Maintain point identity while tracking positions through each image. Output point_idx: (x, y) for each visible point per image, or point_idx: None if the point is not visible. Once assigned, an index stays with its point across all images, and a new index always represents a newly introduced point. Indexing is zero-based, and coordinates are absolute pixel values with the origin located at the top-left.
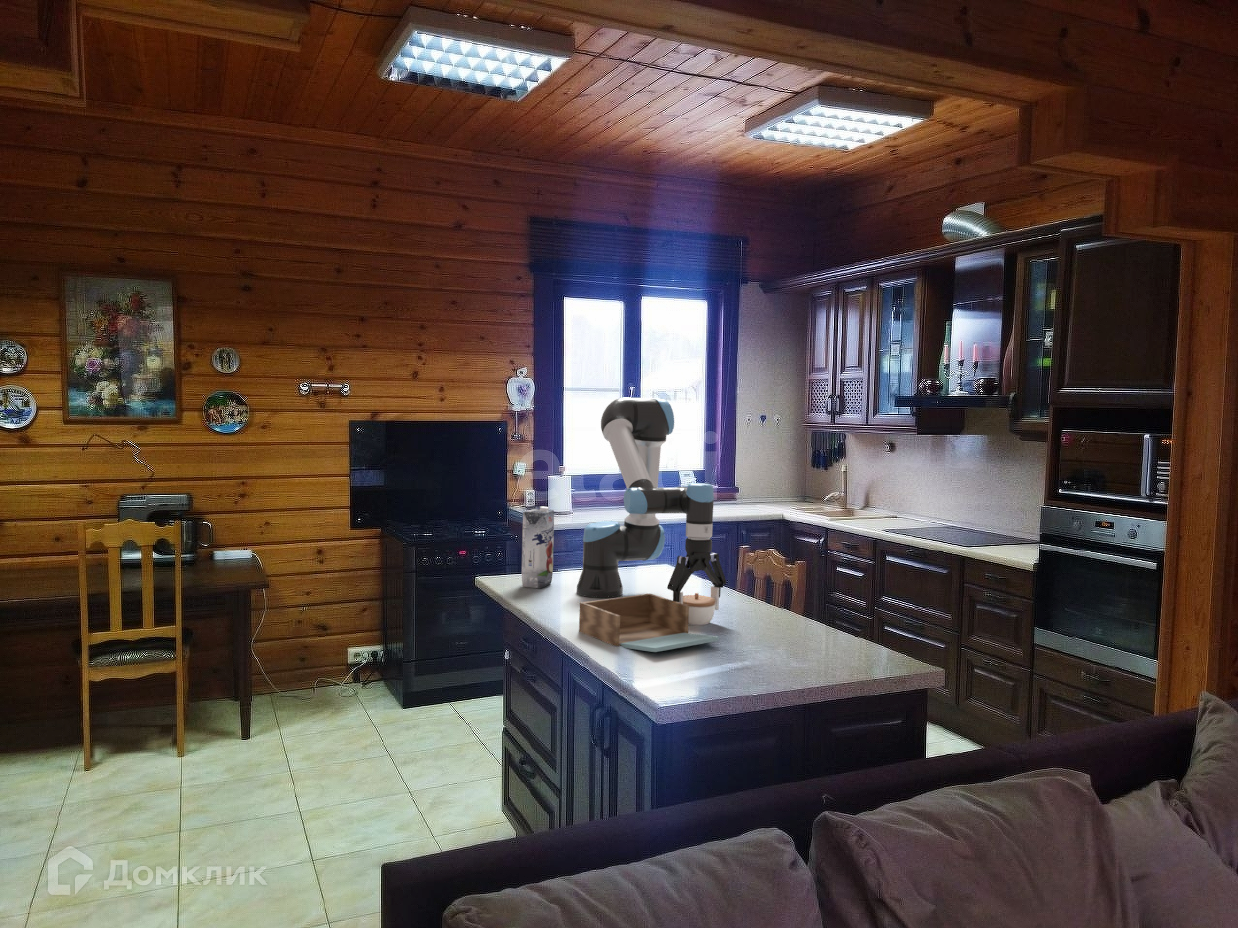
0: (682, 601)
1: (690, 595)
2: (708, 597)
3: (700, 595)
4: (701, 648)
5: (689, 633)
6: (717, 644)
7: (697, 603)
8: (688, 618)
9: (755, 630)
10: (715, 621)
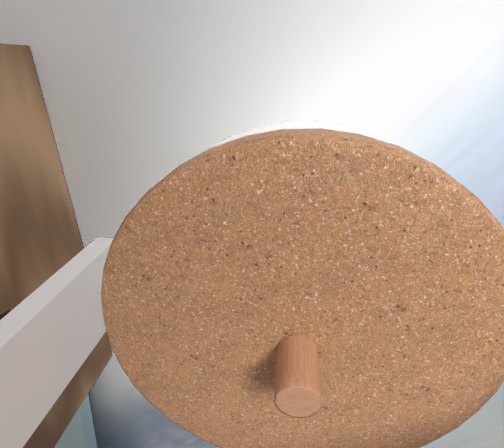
0: (66, 380)
1: (364, 202)
2: (463, 373)
3: (499, 253)
4: (96, 441)
5: (77, 411)
6: (176, 443)
7: (191, 432)
8: (56, 443)
9: (485, 419)
10: (494, 208)
